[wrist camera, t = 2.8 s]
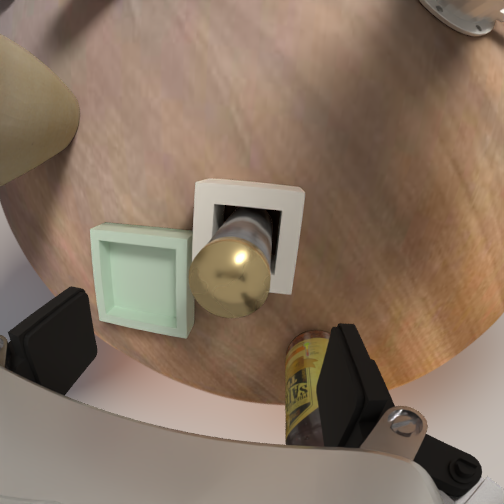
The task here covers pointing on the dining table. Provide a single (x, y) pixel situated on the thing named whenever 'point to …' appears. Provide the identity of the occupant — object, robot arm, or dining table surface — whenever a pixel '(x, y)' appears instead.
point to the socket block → (257, 196)
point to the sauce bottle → (304, 388)
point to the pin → (235, 265)
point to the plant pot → (31, 112)
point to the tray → (143, 277)
